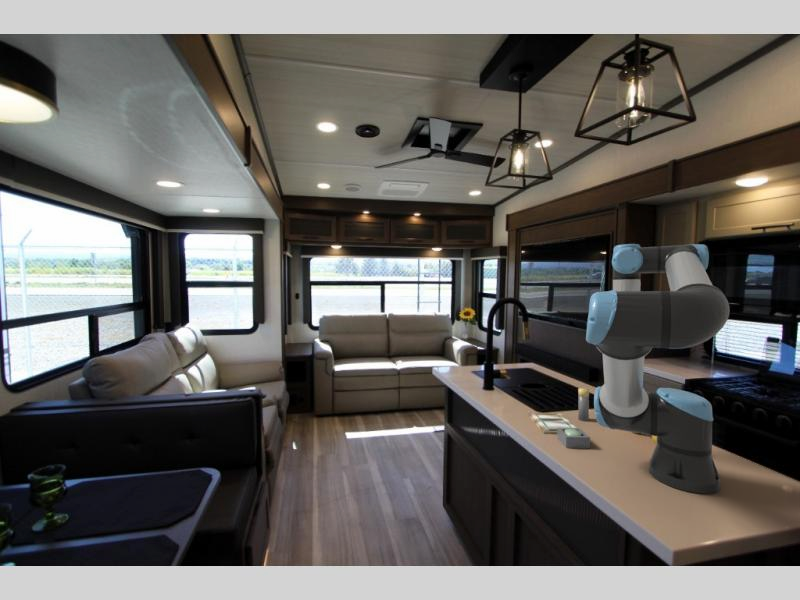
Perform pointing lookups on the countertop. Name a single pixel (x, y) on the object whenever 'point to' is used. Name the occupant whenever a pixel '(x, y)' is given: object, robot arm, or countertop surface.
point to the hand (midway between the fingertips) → (625, 364)
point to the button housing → (573, 439)
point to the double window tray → (550, 422)
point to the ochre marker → (583, 404)
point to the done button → (572, 432)
